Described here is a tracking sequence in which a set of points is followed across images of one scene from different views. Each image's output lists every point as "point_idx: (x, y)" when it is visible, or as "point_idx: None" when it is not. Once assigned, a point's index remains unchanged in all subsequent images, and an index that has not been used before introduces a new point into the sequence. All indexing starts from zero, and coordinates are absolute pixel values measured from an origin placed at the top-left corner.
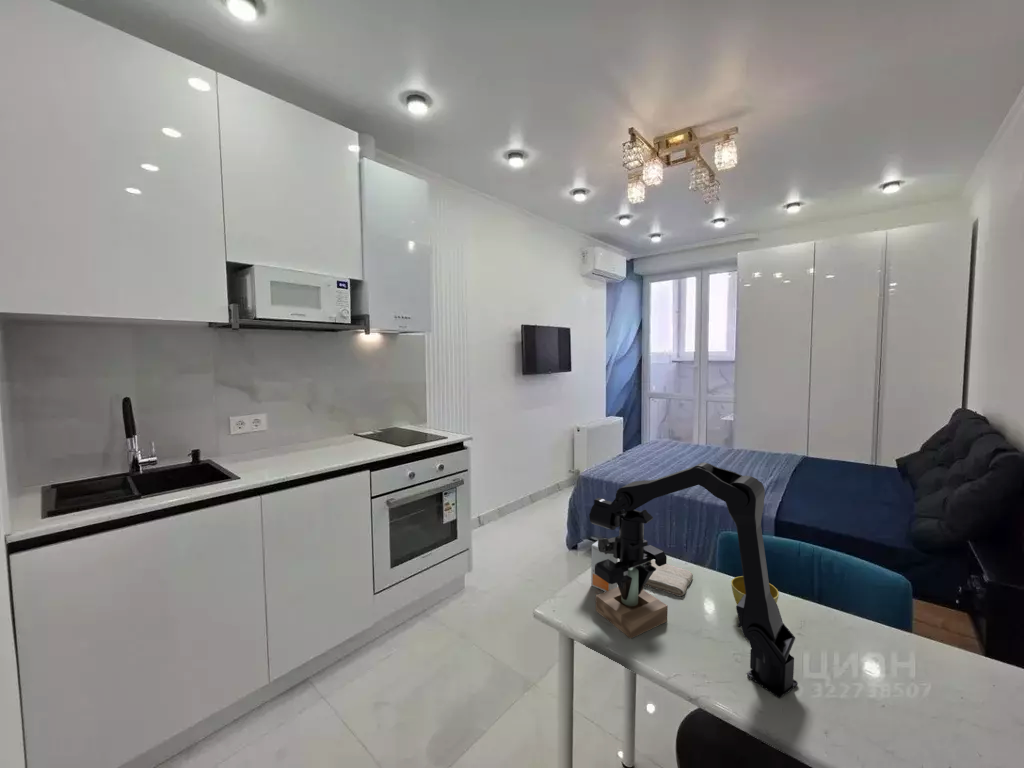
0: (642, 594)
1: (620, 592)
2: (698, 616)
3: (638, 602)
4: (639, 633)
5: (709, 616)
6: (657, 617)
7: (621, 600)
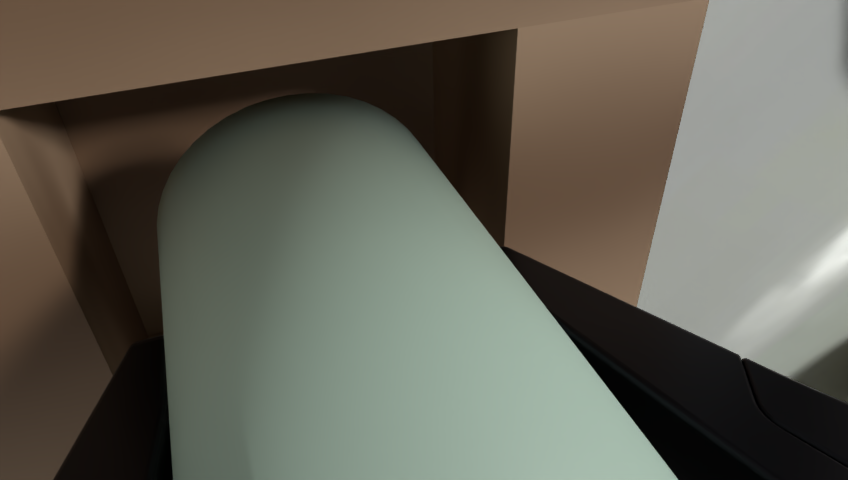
0: (579, 187)
1: (79, 440)
2: (736, 293)
3: (460, 149)
4: None
5: (777, 305)
6: None
7: (165, 192)
